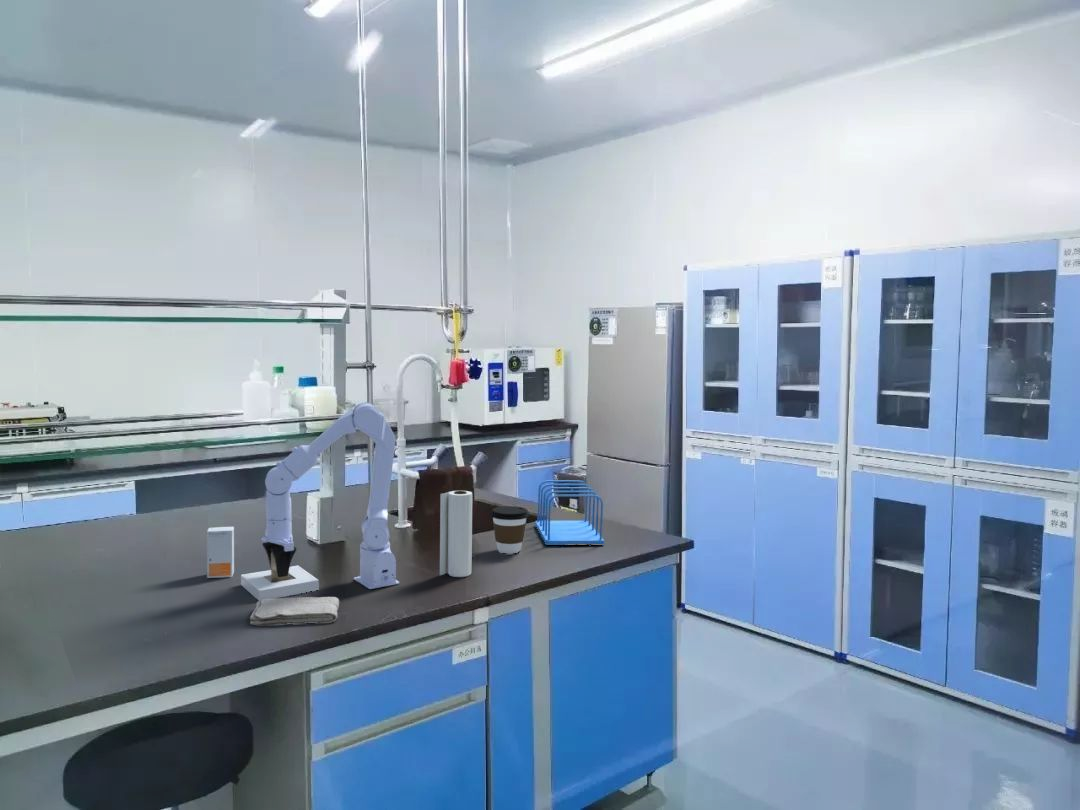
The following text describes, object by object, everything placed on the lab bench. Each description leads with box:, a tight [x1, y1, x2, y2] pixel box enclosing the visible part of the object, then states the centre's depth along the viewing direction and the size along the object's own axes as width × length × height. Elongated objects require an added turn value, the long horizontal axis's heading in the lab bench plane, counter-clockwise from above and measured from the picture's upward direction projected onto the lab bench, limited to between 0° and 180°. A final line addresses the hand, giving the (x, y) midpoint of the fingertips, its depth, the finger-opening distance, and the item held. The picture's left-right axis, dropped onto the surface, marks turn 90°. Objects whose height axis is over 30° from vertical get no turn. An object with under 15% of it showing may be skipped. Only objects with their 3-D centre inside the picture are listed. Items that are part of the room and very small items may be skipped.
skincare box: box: [206, 526, 235, 579], centre depth 198 cm, size 6×4×12 cm
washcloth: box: [249, 596, 340, 627], centre depth 172 cm, size 12×18×3 cm, turn 101°
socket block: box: [240, 565, 320, 602], centre depth 190 cm, size 14×14×2 cm
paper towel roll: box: [439, 490, 473, 578], centre depth 202 cm, size 7×6×21 cm
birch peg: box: [270, 553, 289, 583], centre depth 190 cm, size 4×4×7 cm
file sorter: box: [534, 479, 605, 546], centre depth 243 cm, size 25×17×15 cm
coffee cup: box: [490, 505, 530, 554], centre depth 224 cm, size 11×11×12 cm
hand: (279, 573), depth 190 cm, fingers closed on birch peg, 4 cm apart
